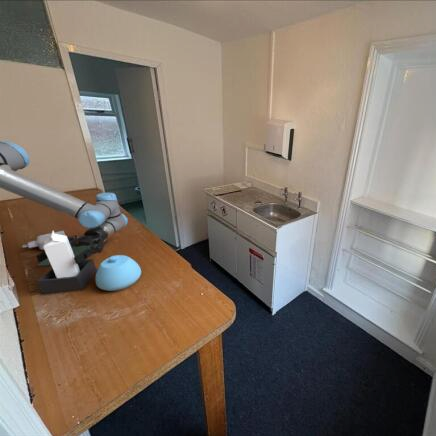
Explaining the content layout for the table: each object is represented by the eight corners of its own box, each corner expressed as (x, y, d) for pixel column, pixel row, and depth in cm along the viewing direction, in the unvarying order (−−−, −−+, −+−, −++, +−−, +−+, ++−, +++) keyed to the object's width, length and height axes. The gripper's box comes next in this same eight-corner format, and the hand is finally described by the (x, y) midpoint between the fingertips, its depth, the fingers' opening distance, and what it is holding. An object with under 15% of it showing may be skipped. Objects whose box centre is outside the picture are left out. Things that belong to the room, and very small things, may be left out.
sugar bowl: (110, 299, 86) (101, 273, 81) (90, 284, 92) (81, 260, 88) (149, 277, 98) (144, 254, 93) (129, 265, 104) (123, 243, 100)
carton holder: (43, 294, 86) (37, 281, 84) (62, 274, 97) (57, 262, 94) (82, 289, 89) (77, 277, 87) (96, 270, 100) (92, 259, 97)
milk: (61, 288, 89) (38, 239, 80) (62, 280, 93) (41, 232, 84) (82, 282, 93) (62, 234, 84) (82, 274, 97) (63, 228, 88)
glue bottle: (25, 247, 113) (66, 237, 122) (24, 255, 107) (67, 244, 116) (21, 238, 111) (63, 229, 120) (19, 246, 105) (64, 236, 114)
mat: (37, 266, 100) (36, 265, 100) (59, 247, 114) (59, 246, 114) (81, 262, 104) (81, 261, 104) (97, 244, 118) (97, 243, 118)
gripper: (129, 241, 108) (94, 269, 88) (74, 239, 107) (26, 266, 87) (125, 227, 105) (88, 252, 85) (68, 224, 104) (18, 249, 84)
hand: (57, 260), depth 86 cm, fingers open, 13 cm apart
